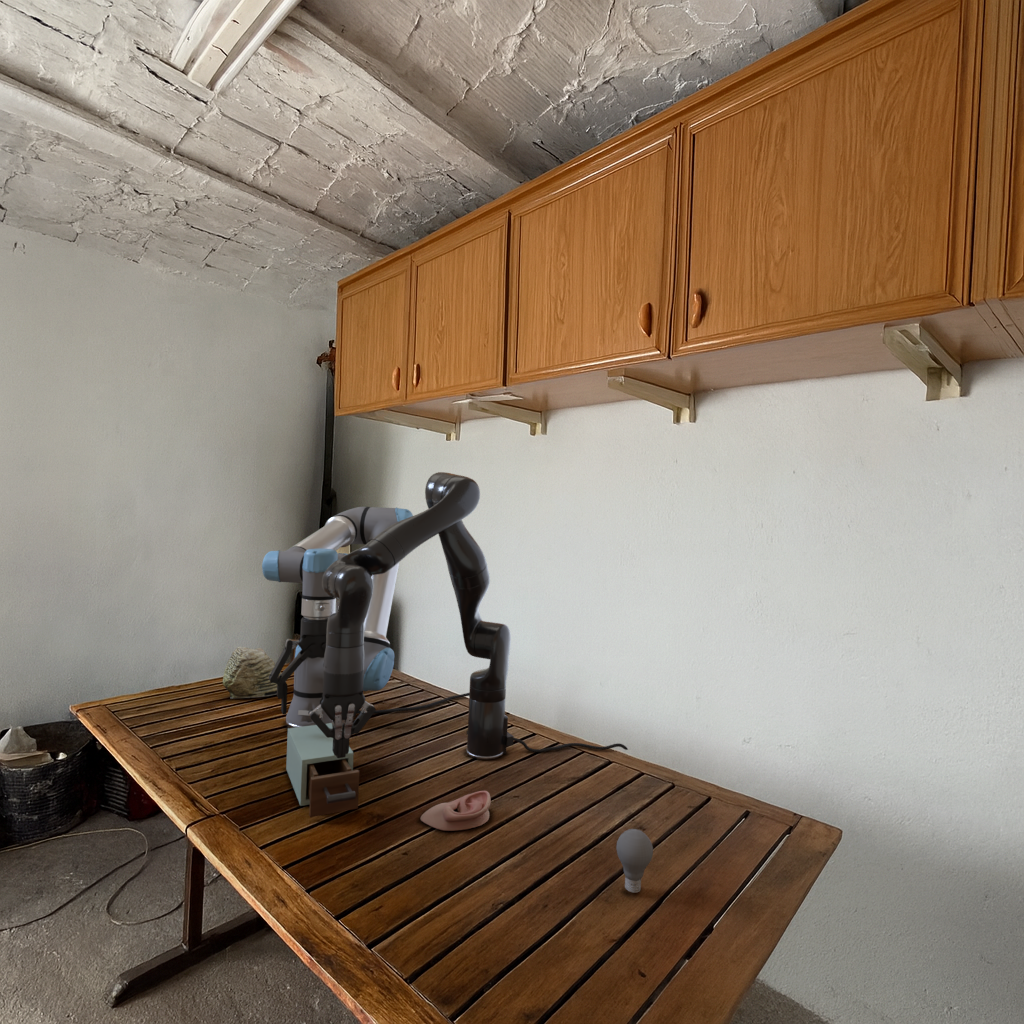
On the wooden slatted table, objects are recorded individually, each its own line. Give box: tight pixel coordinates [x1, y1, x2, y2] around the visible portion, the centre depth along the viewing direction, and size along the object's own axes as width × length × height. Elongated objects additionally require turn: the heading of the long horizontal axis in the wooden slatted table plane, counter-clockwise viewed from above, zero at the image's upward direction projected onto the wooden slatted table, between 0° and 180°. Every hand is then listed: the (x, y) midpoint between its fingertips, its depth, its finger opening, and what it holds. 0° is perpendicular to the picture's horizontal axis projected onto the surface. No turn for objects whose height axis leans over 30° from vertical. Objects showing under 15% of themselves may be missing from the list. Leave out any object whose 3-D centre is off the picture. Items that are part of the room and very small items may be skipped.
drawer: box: [306, 759, 360, 818], centre depth 131 cm, size 23×9×8 cm, turn 28°
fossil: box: [222, 646, 282, 699], centre depth 198 cm, size 9×18×15 cm, turn 132°
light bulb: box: [615, 828, 654, 894], centre depth 106 cm, size 6×6×10 cm
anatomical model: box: [419, 790, 492, 832], centre depth 127 cm, size 13×4×12 cm
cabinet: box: [285, 723, 354, 807], centre depth 140 cm, size 19×10×10 cm, turn 28°
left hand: (314, 709), depth 145 cm, fingers open, 13 cm apart
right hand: (340, 756), depth 122 cm, fingers closed
